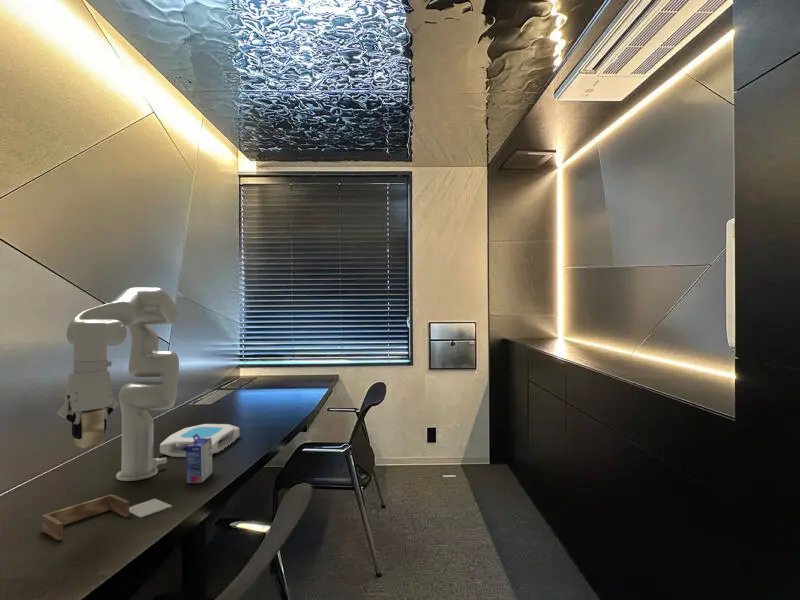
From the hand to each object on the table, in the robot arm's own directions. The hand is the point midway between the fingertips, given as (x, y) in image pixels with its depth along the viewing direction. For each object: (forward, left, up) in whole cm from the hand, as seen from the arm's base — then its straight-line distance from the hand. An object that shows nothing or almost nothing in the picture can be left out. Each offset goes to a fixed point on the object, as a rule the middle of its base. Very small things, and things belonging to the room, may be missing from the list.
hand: (89, 435), depth 128 cm
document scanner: (-60, -38, -24) cm, 75 cm away
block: (0, 0, -3) cm, 3 cm away
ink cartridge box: (-37, -6, -24) cm, 44 cm away
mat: (-14, +4, -23) cm, 27 cm away
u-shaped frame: (0, 0, -23) cm, 23 cm away
